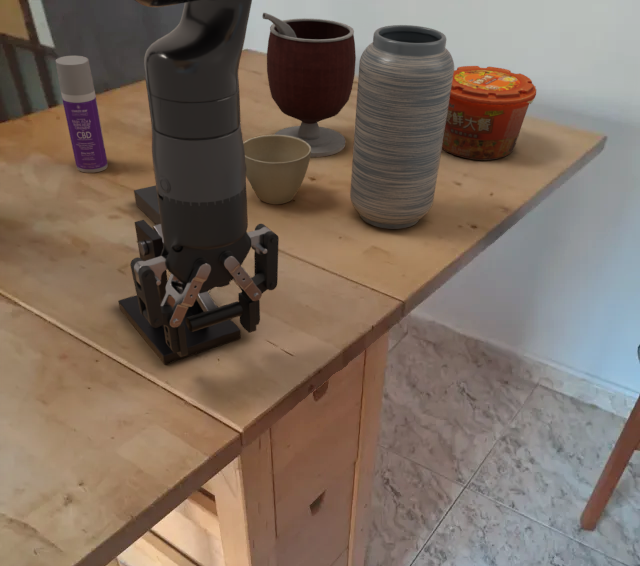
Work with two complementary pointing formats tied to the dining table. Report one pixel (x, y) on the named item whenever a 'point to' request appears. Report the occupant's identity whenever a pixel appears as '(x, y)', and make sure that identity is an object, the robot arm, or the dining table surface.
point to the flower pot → (276, 166)
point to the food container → (486, 112)
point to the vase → (400, 124)
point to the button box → (148, 202)
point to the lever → (208, 307)
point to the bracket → (155, 337)
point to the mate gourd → (311, 76)
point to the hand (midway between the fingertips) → (214, 339)
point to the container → (82, 113)
